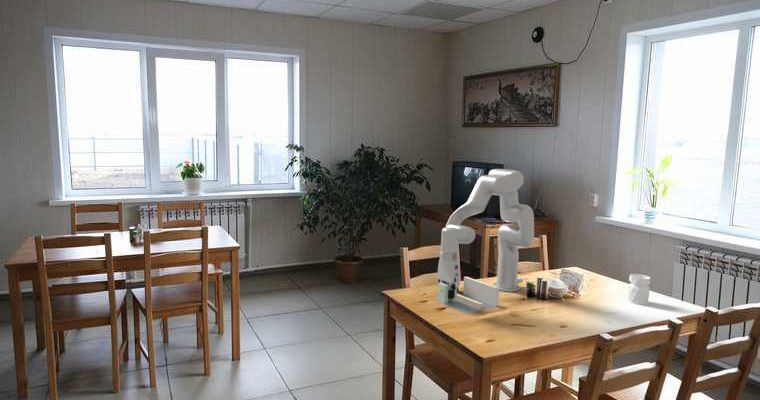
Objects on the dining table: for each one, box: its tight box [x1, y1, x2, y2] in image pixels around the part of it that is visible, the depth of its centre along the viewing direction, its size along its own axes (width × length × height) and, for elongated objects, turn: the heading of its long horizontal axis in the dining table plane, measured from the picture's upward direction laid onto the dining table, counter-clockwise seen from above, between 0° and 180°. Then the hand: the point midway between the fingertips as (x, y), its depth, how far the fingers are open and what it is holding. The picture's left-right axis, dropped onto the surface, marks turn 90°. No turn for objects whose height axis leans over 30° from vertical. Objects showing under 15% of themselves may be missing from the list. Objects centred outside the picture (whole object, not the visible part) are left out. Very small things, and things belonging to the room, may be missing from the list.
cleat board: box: [434, 276, 500, 315], centre depth 226 cm, size 19×20×10 cm
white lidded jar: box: [627, 273, 652, 306], centre depth 240 cm, size 9×9×12 cm
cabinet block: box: [436, 282, 458, 305], centre depth 228 cm, size 8×4×8 cm, turn 125°
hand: (447, 296), depth 228 cm, fingers closed on cabinet block, 4 cm apart
